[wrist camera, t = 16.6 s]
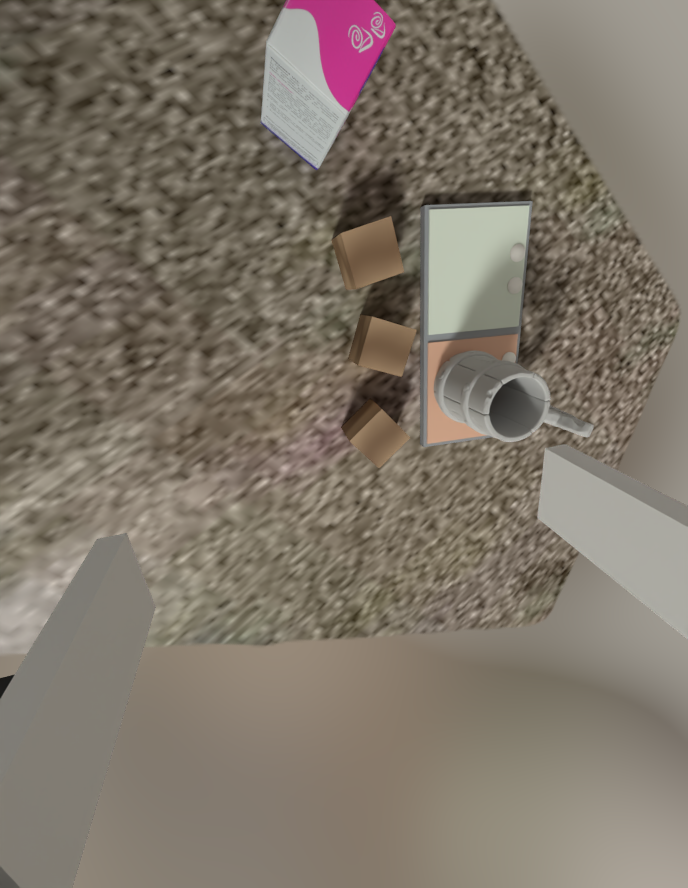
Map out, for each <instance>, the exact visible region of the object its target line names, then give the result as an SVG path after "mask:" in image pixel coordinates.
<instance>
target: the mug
mask: <svg viewBox="0 0 688 888" xmlns="http://www.w3.org/2000/svg"><path fill="white" fill-rule="evenodd" d="M434 396H435V399H436V401H437V403H438V405H439V407H440V409H441V411H442V412H443V413H444V414H445V415H446V416H447V417H449V418H450V419H452V420H454V421H457V422H460V423H465V424H466V425H468V426H469V427H471V428H472V429H474V430H475V431H477V432H479V433H481V434H484V435H489V436H492V437H494V438H497V439H499V440H501V441H505V442H514V441H519V440H522V439H524V438H526V437H528V436H529V435H531V434H532V432H534V431H536V430H537V429H538V428H539V427H540V426H541V424H542V423H543V422H545V423H548V424H551V425H553V426H556V427H560V428H562V429H564V430H568V431H570V432H573V433H575V434H578V435H580V436H584V437H589V436H590V434H591V432H592V430H593V424H590V423H586V422H584V421H582V420H579V419H577V418H576V417H574V416H573V415H570V414H568V413H566V412H564V411H561V410H560V409H558V408H556V407H553V406H551V405H550V401H549V400H550V399H551V398H550V391H549V389H548V386H547V383H546V382H545V380H544V379H543V378H542V377H541V376H539V375H538V374H536V373H534V372H531V371H528V370H525V369H524V368H523V367H522V366H520V365H519V364H516V363H514V362H510V361H504V360H498V359H496V358H495V357H494V356H493V355H491V354H489V353H486V352H482V351H467V352H463V353H459V354H456V355H454V356H453V357H451V358H450V361H446V362H445V363H444V364H443V365H442V366H441V368H440V369H439V371H438V373H437V375H436V377H435V381H434ZM531 431H532V432H531Z"/></svg>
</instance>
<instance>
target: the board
mask: <svg viewBox="0 0 688 888" xmlns="http://www.w3.org/2000/svg"><path fill="white" fill-rule="evenodd" d="M531 211H532V201H519V202H493V203H468V204H442V205H424V206H422V207H421V288H420V444H421V445H422V446H423V447H427V446H434V445H441V444H448V443H455V442H462V441H469V440H476V439H483V438H490V437H492V436H489V435H484V434H481V433H479V432H477V431H475V430H474V429H472V428H471V427H469V426H468V425H466V424H465V423H460V422H457V421H454V420H452V419H450V418H449V417H447V416H446V415H445V414H444V413H443V412H442V411H441V409H440V407H439V405H438V403H437V401H436V399H435V396H434V381H435V377H436V375H437V373H438V371H439V369H440V368H441V366H442V365H443V364H444V363H445V362H446V361H450V358H451V357H453V356H454V355H456V354H459V353H463V352H467V351H482V352H486V353H489V354H491V355H493V356H494V357H495V358H496V359H498V360H504V361H510V362H514V363H516V364H518V353H519V342H520V331H521V320H522V309H523V298H524V287H525V277H526V266H527V255H528V244H529V233H530V222H531Z"/></svg>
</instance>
